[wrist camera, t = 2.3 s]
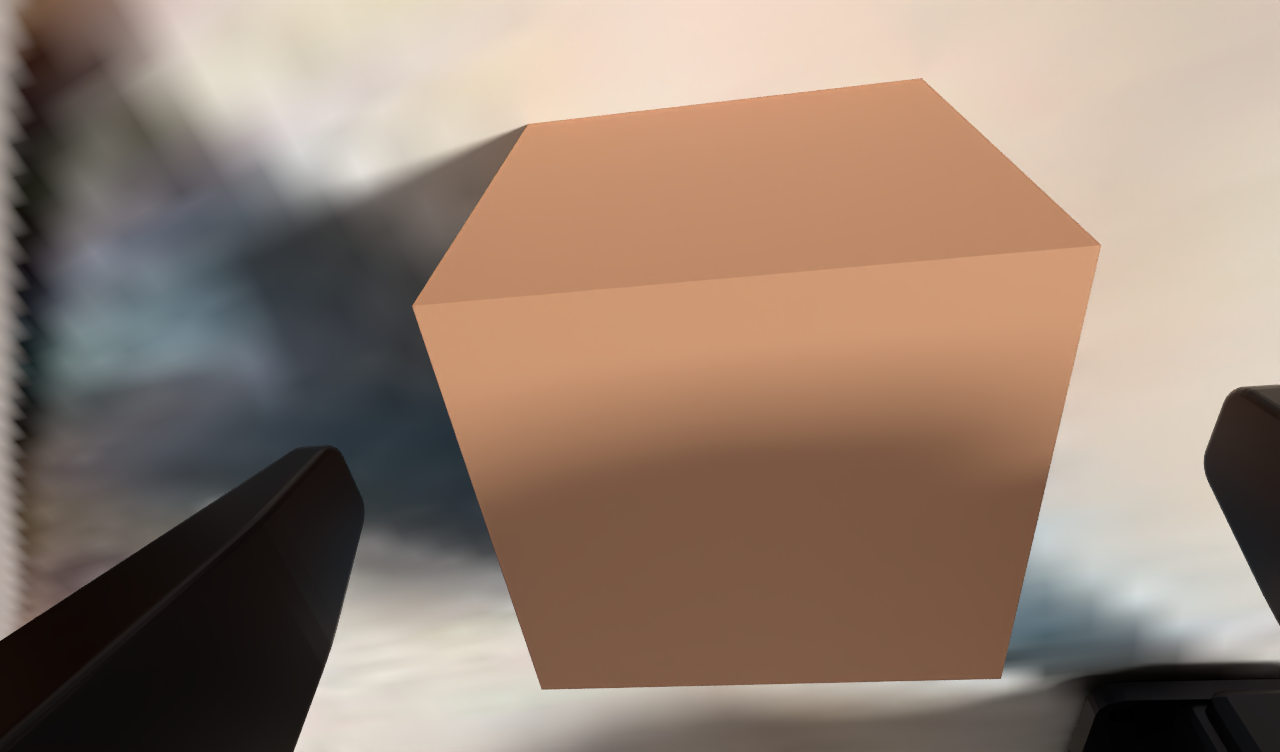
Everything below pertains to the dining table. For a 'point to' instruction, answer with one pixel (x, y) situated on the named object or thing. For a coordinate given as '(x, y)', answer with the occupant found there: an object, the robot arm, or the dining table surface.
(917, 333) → the cube
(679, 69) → the dining table surface
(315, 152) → the dining table surface
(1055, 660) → the dining table surface
